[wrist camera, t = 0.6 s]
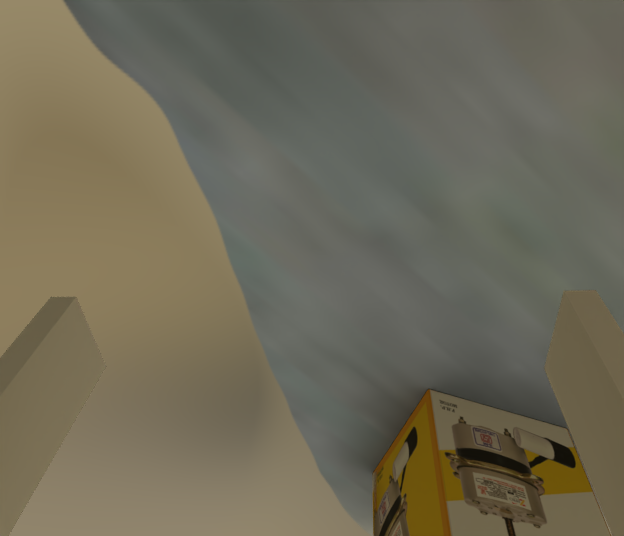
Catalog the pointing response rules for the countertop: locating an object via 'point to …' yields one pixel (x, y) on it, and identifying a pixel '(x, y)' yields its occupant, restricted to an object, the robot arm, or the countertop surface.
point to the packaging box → (481, 476)
